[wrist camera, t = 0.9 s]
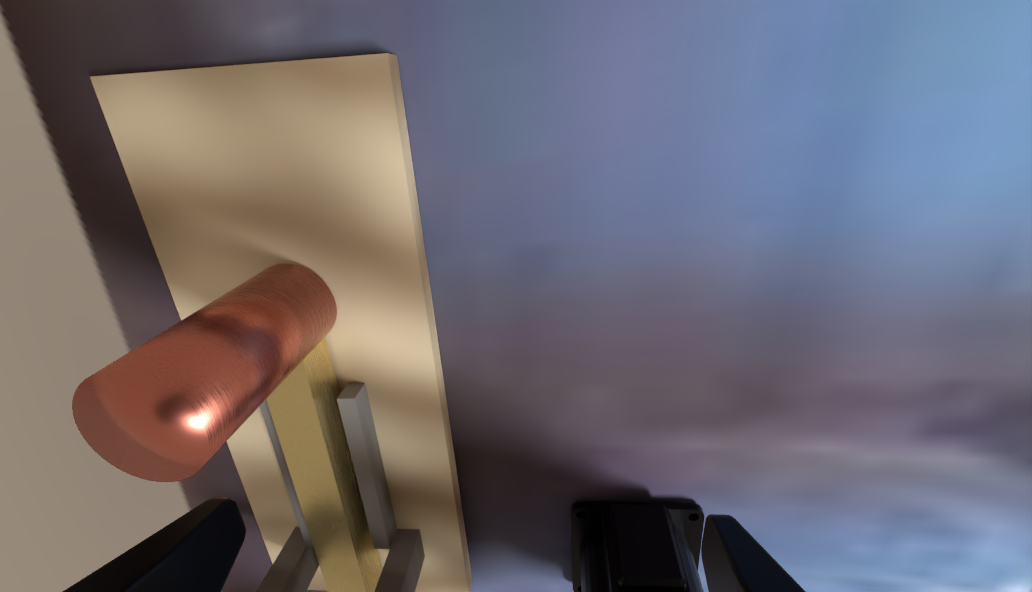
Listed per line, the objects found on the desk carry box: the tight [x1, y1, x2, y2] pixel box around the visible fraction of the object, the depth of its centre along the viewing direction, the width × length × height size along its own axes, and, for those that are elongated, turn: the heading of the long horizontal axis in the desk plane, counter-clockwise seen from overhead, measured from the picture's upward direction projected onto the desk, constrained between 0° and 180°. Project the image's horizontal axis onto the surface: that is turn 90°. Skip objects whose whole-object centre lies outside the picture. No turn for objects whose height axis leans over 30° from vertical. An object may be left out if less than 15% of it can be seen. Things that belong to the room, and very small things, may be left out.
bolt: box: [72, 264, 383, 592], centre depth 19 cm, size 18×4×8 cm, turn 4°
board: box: [90, 53, 472, 592], centre depth 19 cm, size 27×11×7 cm, turn 4°
